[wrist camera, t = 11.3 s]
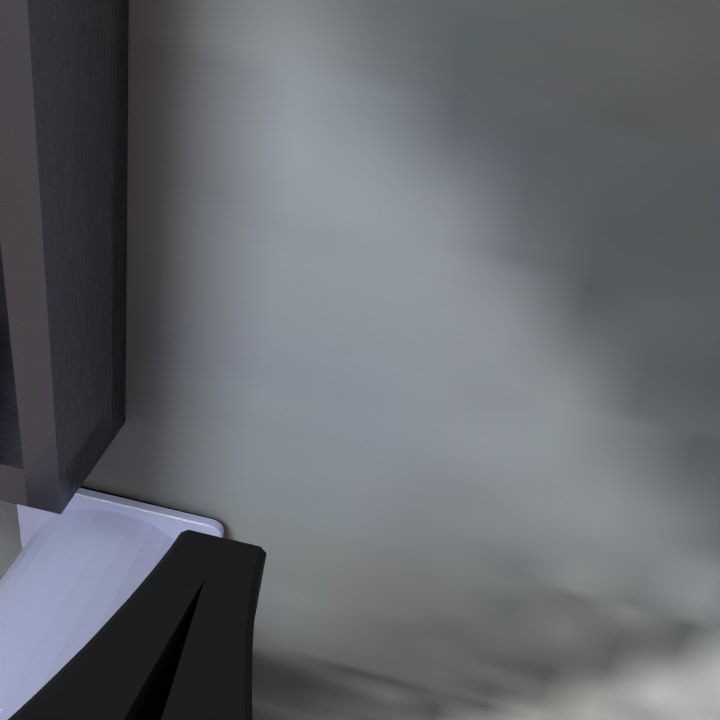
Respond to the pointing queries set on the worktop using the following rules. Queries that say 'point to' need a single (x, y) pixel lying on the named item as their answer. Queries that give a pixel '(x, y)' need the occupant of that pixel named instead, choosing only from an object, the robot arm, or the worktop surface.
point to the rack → (61, 243)
